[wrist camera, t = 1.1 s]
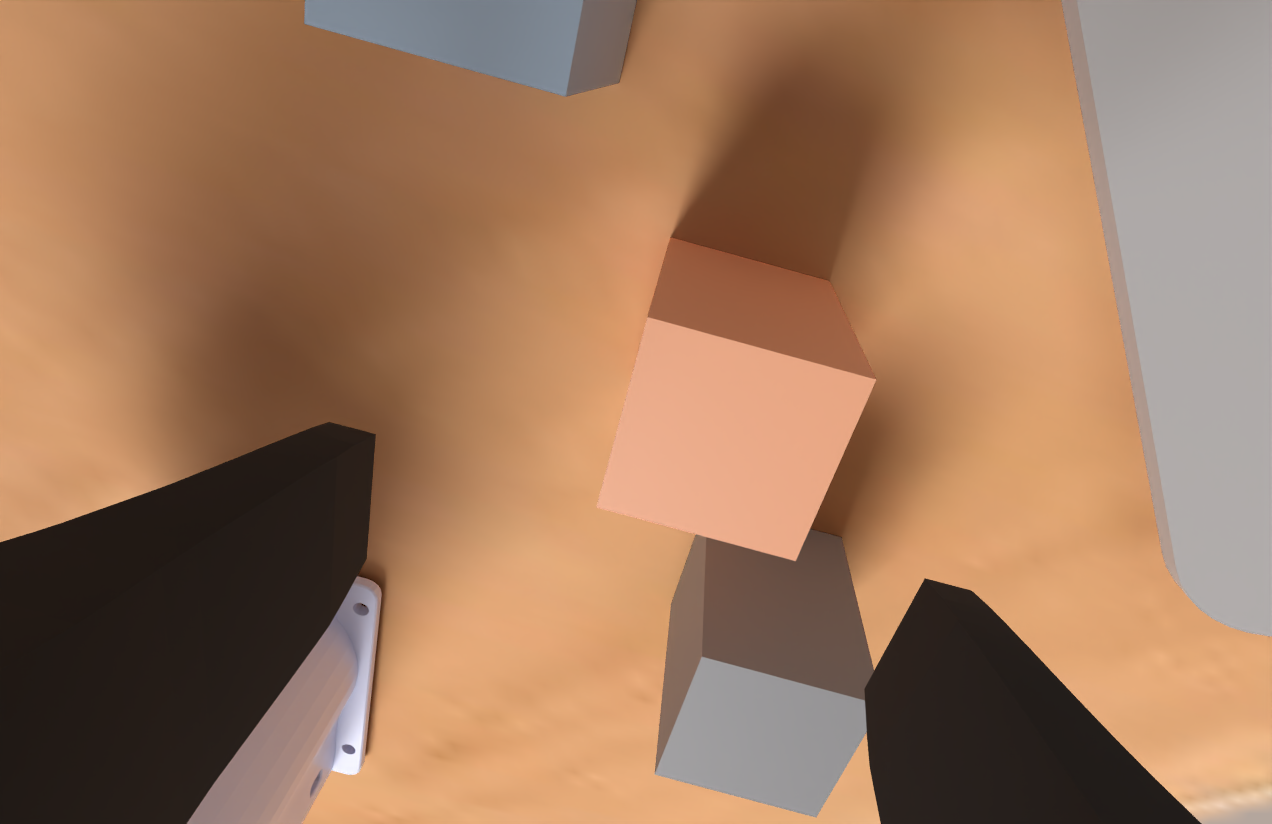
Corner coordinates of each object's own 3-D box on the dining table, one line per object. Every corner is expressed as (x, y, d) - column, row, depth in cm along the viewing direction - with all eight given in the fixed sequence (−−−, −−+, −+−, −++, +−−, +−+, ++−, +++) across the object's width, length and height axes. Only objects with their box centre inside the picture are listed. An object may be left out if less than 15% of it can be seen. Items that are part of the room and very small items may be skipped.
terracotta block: (775, 420, 19) (795, 561, 14) (631, 382, 19) (596, 507, 14) (829, 280, 17) (876, 379, 12) (670, 237, 17) (647, 317, 12)
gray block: (794, 636, 22) (815, 817, 17) (671, 603, 22) (654, 774, 17) (841, 537, 21) (882, 705, 15) (707, 500, 21) (701, 656, 15)
